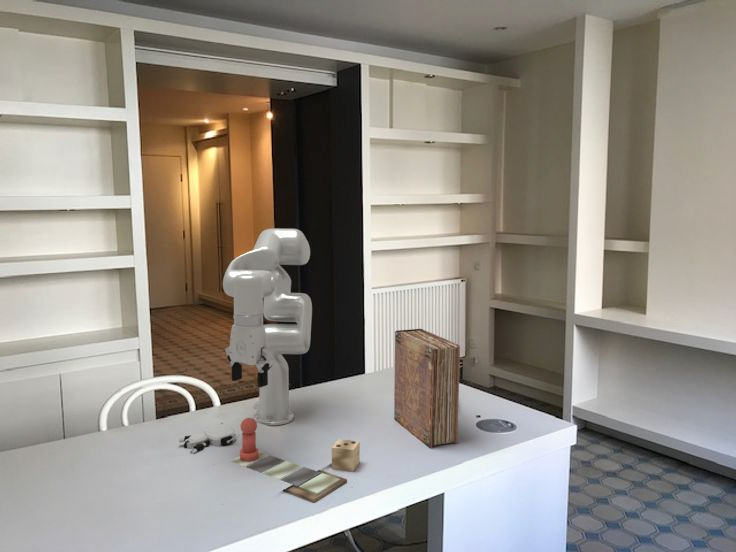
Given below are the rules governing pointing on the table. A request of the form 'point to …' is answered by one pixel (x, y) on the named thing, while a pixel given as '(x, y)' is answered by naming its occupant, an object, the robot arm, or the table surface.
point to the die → (345, 455)
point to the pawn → (249, 441)
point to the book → (427, 386)
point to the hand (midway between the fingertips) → (249, 383)
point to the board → (296, 477)
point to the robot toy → (210, 438)
